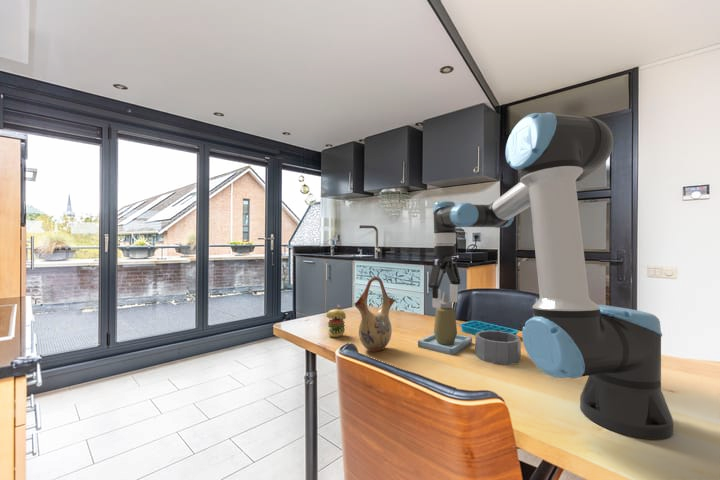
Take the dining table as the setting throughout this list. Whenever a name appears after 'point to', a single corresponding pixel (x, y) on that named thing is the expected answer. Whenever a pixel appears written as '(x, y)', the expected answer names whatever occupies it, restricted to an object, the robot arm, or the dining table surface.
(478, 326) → the ice cube tray
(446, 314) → the squeeze bottle
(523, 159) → the robot arm
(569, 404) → the dining table surface
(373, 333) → the ceramic vessel
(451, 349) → the tray
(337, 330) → the hamburger
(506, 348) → the grey faceted ring
